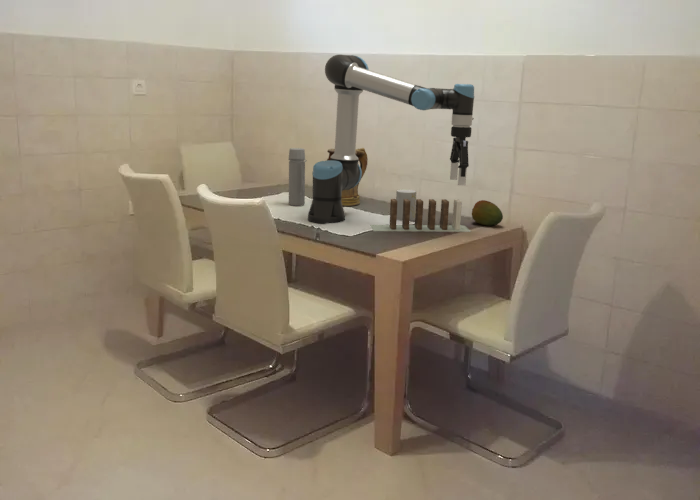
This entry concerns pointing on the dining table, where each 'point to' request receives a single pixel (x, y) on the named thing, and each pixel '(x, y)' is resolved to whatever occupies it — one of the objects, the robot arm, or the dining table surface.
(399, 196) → the cup
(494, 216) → the fruit
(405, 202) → the tile
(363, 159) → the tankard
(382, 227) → the strip
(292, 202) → the water bottle
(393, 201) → the tile
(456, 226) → the ivory tile
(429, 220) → the tile
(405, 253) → the dining table surface
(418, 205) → the tile
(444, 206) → the tile
